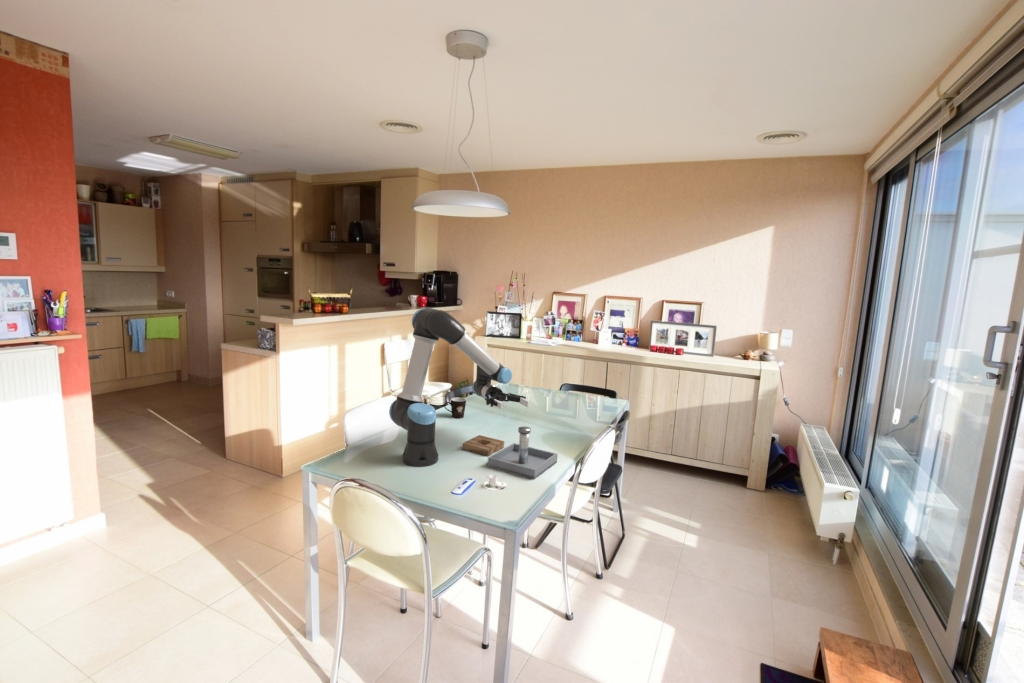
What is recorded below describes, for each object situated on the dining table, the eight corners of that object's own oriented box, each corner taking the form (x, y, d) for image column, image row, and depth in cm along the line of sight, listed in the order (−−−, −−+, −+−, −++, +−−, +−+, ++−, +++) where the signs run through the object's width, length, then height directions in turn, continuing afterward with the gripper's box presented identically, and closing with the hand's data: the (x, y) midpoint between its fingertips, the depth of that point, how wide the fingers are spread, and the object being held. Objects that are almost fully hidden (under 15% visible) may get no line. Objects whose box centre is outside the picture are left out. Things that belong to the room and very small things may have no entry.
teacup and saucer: (509, 488, 192) (509, 478, 192) (493, 493, 187) (494, 483, 186) (494, 480, 199) (494, 470, 198) (478, 485, 193) (479, 475, 193)
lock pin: (525, 465, 212) (527, 431, 210) (514, 462, 214) (516, 428, 212) (531, 461, 216) (532, 427, 214) (520, 459, 219) (522, 425, 217)
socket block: (488, 456, 223) (488, 449, 222) (462, 449, 229) (462, 443, 229) (504, 447, 235) (504, 441, 234) (479, 441, 241) (479, 435, 241)
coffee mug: (467, 415, 282) (467, 398, 281) (464, 419, 274) (464, 402, 272) (446, 413, 283) (447, 396, 282) (443, 418, 275) (443, 400, 273)
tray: (534, 479, 201) (535, 469, 200) (487, 466, 211) (488, 457, 210) (557, 462, 220) (557, 453, 219) (513, 451, 230) (513, 443, 230)
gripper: (514, 399, 246) (538, 411, 228) (468, 403, 233) (489, 415, 215) (515, 384, 245) (539, 395, 227) (469, 387, 232) (491, 398, 214)
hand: (515, 405), depth 221 cm, fingers open, 13 cm apart
